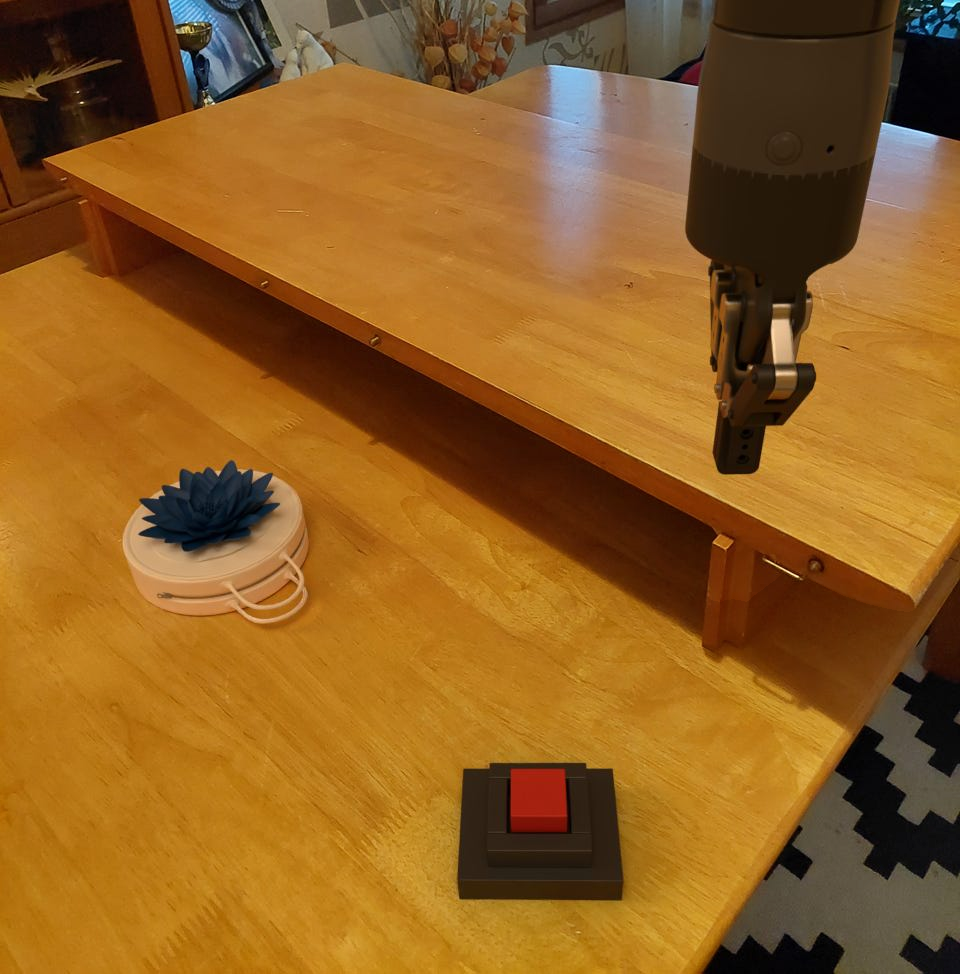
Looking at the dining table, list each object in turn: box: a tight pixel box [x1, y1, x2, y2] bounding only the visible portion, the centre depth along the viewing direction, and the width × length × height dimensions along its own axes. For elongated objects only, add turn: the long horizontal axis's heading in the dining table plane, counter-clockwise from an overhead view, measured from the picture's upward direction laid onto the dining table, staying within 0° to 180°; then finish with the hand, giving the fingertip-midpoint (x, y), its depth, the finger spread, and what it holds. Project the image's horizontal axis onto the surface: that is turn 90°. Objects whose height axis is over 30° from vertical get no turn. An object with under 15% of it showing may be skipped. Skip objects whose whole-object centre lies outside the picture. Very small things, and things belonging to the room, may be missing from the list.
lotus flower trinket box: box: [121, 459, 310, 625], centre depth 81 cm, size 7×16×20 cm
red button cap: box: [511, 769, 567, 832], centre depth 57 cm, size 3×3×2 cm
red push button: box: [456, 762, 625, 901], centre depth 59 cm, size 10×8×4 cm
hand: (734, 465), depth 50 cm, fingers closed
